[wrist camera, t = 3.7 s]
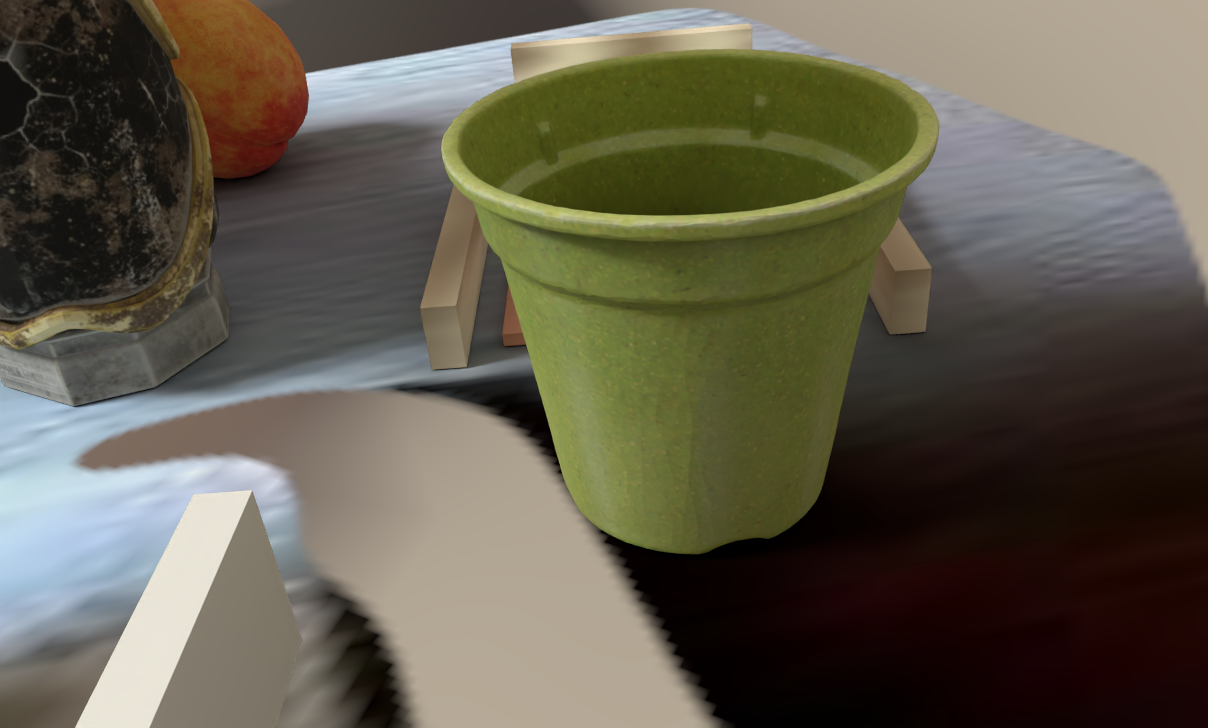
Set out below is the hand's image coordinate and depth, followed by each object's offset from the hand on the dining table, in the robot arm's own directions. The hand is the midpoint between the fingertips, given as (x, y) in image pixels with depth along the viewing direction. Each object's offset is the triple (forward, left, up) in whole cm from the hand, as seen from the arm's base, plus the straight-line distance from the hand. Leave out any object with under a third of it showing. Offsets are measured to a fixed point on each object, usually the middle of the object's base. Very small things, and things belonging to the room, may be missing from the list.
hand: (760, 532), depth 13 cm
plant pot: (0, +9, -6) cm, 11 cm away
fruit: (-18, +32, -6) cm, 38 cm away
